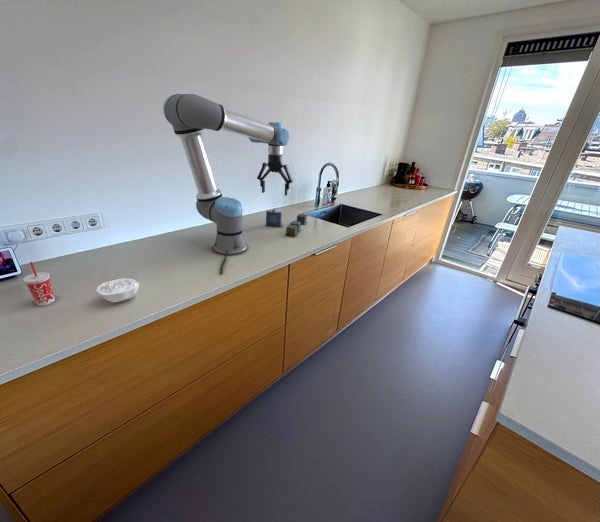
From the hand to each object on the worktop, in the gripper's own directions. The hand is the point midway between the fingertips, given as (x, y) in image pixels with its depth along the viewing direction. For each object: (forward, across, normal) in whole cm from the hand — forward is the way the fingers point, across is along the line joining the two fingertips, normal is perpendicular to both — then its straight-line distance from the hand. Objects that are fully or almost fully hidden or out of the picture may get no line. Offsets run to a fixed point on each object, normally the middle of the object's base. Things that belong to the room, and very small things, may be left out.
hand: (274, 193), depth 163 cm
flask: (+19, 0, 0) cm, 19 cm away
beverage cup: (+18, +42, +100) cm, 110 cm away
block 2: (+19, -14, +10) cm, 26 cm away
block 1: (+19, -14, +3) cm, 24 cm away
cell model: (+18, +22, +91) cm, 96 cm away
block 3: (+19, -14, -12) cm, 27 cm away
